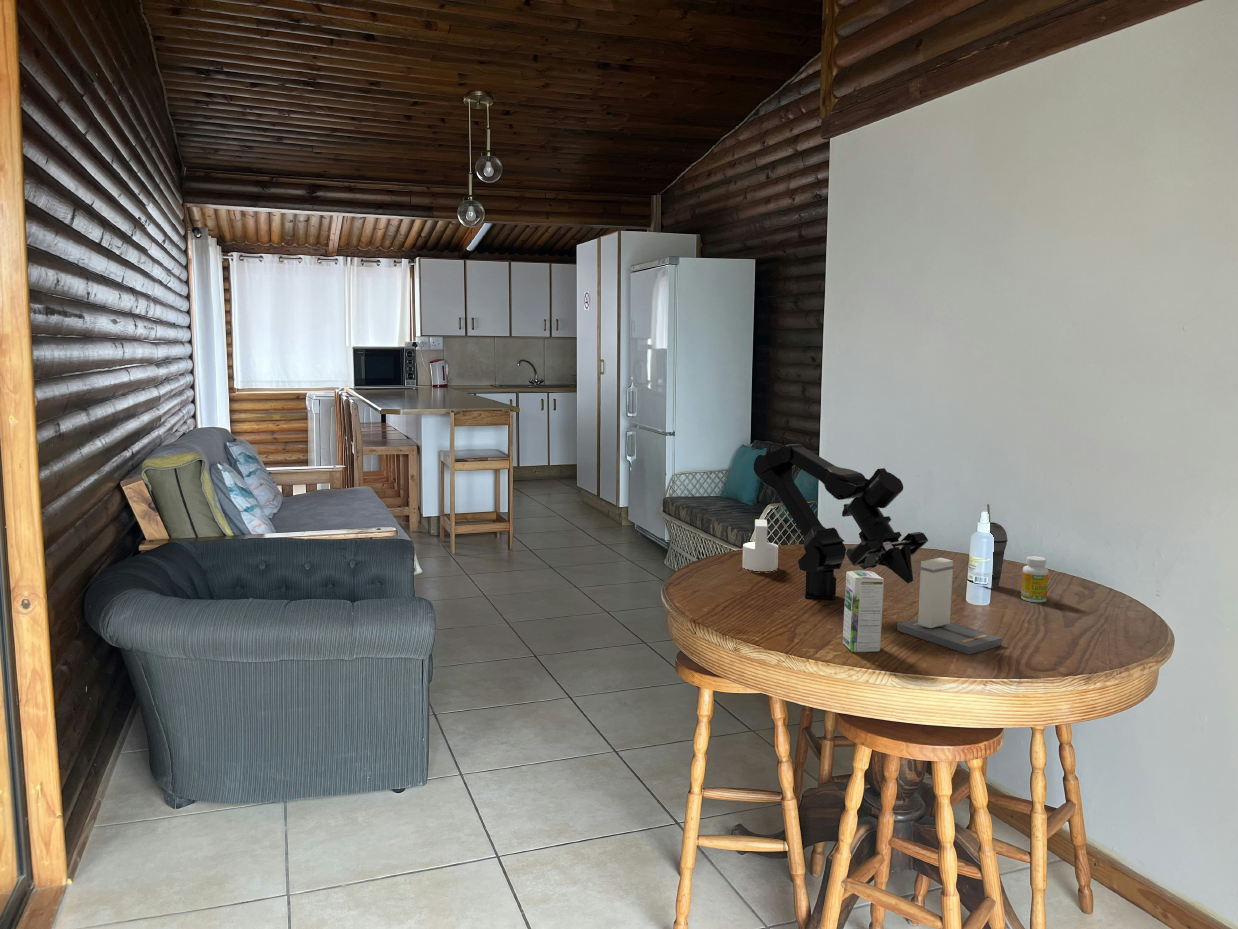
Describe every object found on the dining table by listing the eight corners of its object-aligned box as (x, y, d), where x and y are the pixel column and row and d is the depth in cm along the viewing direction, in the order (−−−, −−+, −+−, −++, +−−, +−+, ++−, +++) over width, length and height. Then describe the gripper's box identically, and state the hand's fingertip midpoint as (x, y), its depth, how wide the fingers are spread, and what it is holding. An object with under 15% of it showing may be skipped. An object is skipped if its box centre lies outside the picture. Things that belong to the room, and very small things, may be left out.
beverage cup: (1007, 590, 215) (1013, 507, 212) (975, 589, 216) (980, 506, 213) (1001, 582, 222) (1006, 502, 219) (969, 581, 223) (974, 501, 220)
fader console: (897, 630, 185) (897, 623, 184) (929, 622, 190) (929, 615, 190) (968, 654, 170) (969, 646, 170) (1001, 645, 176) (1002, 637, 176)
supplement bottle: (1030, 603, 204) (1033, 561, 203) (1015, 596, 210) (1018, 555, 208) (1051, 602, 205) (1054, 560, 204) (1036, 595, 211) (1039, 554, 209)
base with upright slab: (742, 563, 240) (743, 518, 239) (777, 564, 239) (778, 520, 237) (742, 571, 232) (743, 525, 230) (778, 573, 230) (779, 526, 229)
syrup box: (841, 643, 177) (844, 570, 175) (871, 642, 177) (874, 570, 175) (851, 653, 171) (854, 578, 169) (881, 652, 172) (885, 577, 170)
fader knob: (917, 624, 183) (920, 561, 181) (937, 619, 186) (940, 557, 184) (930, 628, 180) (933, 564, 178) (950, 623, 183) (953, 560, 181)
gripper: (879, 537, 205) (917, 596, 198) (820, 547, 195) (857, 609, 188) (908, 508, 198) (949, 568, 190) (848, 517, 188) (888, 580, 180)
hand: (910, 582), depth 187 cm, fingers closed
